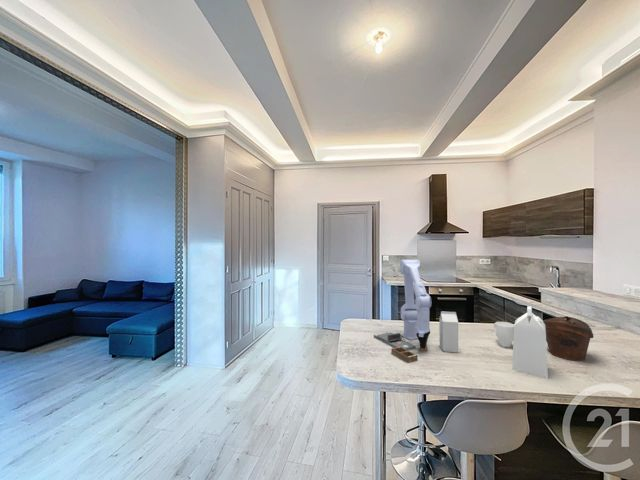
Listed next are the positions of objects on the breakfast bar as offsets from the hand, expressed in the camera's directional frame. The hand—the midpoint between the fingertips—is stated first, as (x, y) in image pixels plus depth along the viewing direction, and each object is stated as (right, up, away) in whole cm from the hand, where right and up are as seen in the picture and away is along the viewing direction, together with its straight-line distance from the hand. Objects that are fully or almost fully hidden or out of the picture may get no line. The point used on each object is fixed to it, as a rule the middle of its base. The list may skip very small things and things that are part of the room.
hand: (423, 346), depth 134 cm
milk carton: (+13, -2, +1) cm, 13 cm away
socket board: (-12, -2, -8) cm, 15 cm away
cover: (-14, 0, +14) cm, 19 cm away
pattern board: (-12, -2, +10) cm, 16 cm away
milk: (+38, -2, -19) cm, 43 cm away
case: (+66, -2, -6) cm, 66 cm away
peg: (0, -2, 0) cm, 2 cm away
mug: (+44, -2, +7) cm, 45 cm away
